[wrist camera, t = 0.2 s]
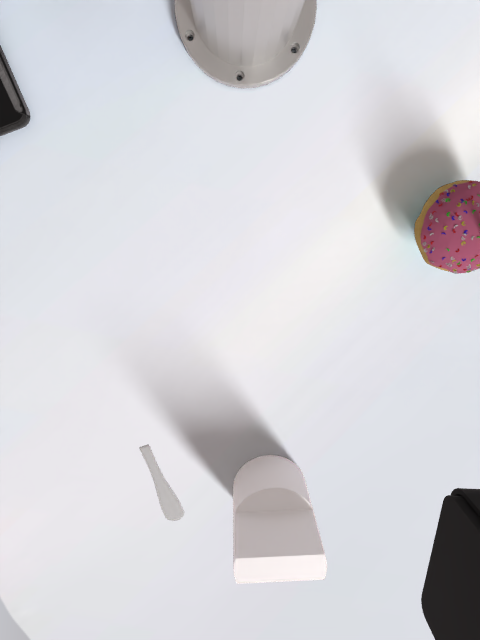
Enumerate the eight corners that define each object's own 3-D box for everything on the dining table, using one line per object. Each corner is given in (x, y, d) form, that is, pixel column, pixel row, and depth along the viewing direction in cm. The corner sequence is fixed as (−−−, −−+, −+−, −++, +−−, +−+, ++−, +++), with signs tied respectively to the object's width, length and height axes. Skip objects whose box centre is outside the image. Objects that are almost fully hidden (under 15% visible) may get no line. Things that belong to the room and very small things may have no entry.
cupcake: (496, 222, 43) (595, 227, 31) (435, 283, 44) (507, 310, 33) (442, 164, 41) (524, 147, 29) (380, 230, 43) (436, 238, 31)
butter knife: (165, 524, 52) (187, 518, 51) (88, 355, 46) (112, 347, 45) (166, 521, 52) (187, 515, 52) (89, 354, 46) (113, 346, 46)
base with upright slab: (305, 453, 49) (328, 528, 38) (305, 515, 52) (326, 603, 40) (231, 456, 49) (231, 532, 38) (234, 518, 52) (235, 607, 40)
